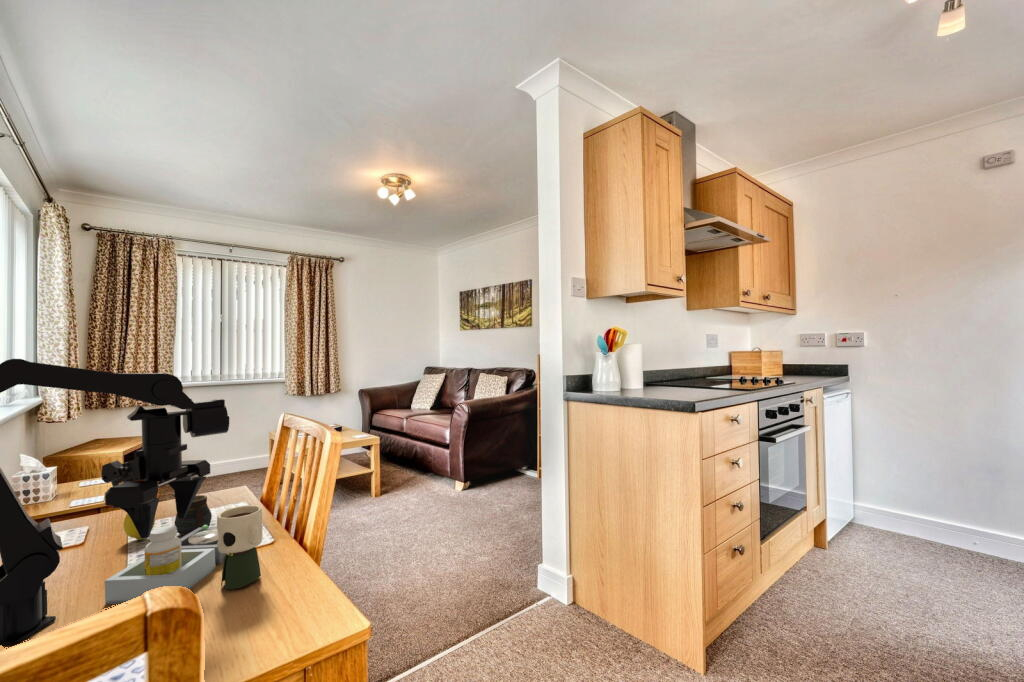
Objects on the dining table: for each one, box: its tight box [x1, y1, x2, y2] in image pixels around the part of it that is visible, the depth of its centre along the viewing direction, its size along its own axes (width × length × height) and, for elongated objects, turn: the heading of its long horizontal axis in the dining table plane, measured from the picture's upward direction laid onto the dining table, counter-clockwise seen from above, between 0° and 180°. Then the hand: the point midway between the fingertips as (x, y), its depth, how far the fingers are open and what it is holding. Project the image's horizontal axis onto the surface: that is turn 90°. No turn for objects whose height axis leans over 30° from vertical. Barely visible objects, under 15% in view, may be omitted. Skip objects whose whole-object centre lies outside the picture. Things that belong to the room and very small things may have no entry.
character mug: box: [216, 504, 264, 590], centre depth 84 cm, size 11×7×13 cm, turn 58°
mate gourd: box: [171, 494, 213, 537], centre depth 108 cm, size 7×8×10 cm
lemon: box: [123, 512, 156, 541], centre depth 105 cm, size 6×6×8 cm
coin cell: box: [188, 529, 219, 546], centre depth 97 cm, size 7×7×2 cm
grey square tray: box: [180, 525, 226, 566], centre depth 97 cm, size 11×11×4 cm
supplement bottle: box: [144, 525, 182, 576], centre depth 84 cm, size 5×5×10 cm
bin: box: [104, 548, 216, 605], centre depth 84 cm, size 11×11×4 cm
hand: (164, 527), depth 84 cm, fingers open, 9 cm apart
